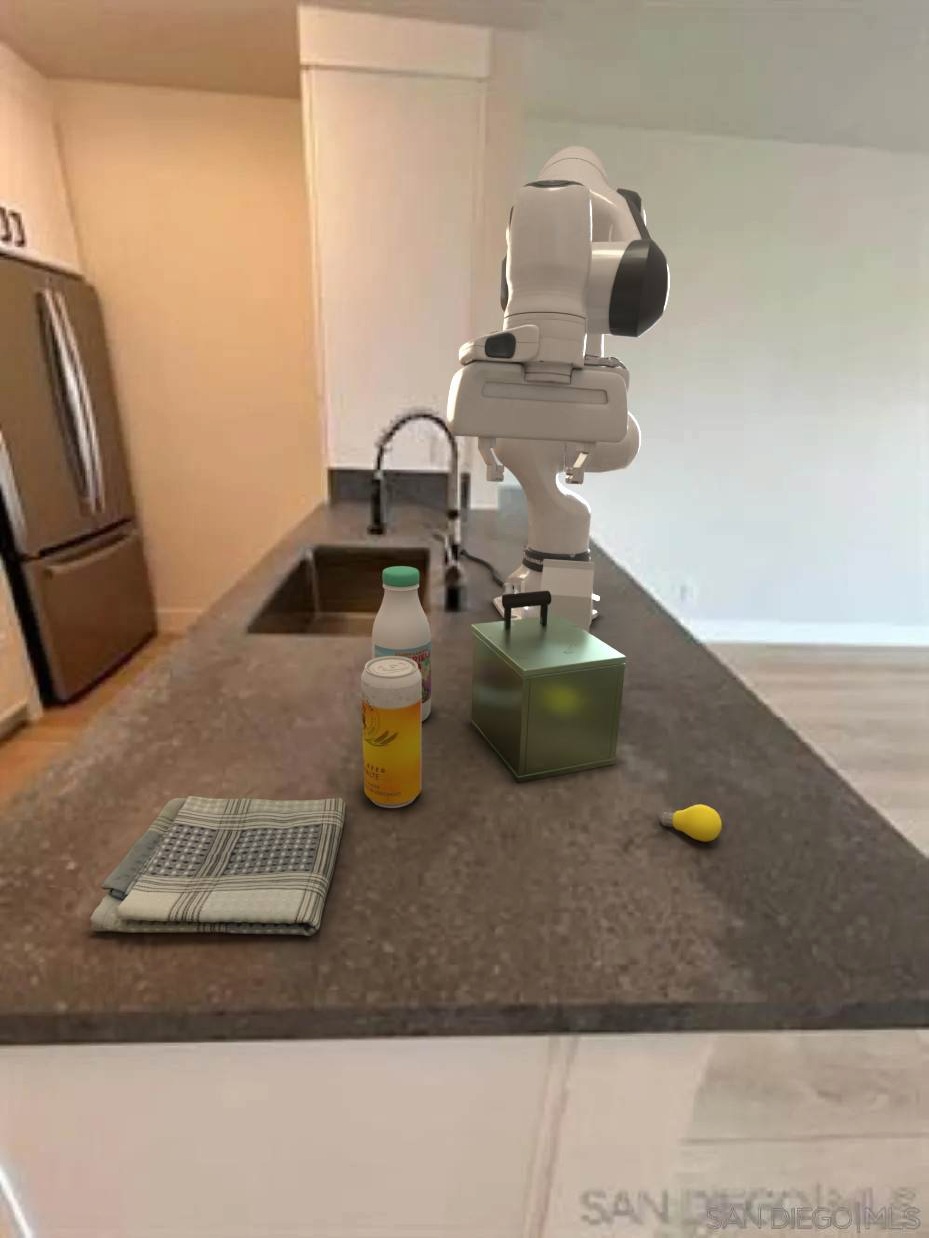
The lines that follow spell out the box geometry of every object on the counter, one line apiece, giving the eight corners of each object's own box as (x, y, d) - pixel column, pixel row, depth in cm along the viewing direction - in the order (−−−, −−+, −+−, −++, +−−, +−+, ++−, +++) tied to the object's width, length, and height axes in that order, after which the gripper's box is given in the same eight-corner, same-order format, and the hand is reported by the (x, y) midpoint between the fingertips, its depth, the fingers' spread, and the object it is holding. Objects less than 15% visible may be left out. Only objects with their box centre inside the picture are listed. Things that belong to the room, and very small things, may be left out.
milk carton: (583, 697, 97) (594, 568, 91) (534, 692, 98) (541, 565, 92) (585, 677, 103) (595, 556, 97) (538, 673, 104) (545, 553, 98)
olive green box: (470, 724, 88) (473, 632, 84) (556, 711, 92) (562, 622, 88) (517, 783, 75) (523, 677, 71) (615, 764, 79) (625, 663, 75)
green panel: (471, 630, 84) (471, 591, 83) (560, 620, 89) (562, 583, 87) (523, 677, 71) (526, 631, 69) (625, 663, 75) (630, 620, 73)
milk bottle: (361, 714, 90) (356, 569, 84) (403, 696, 95) (402, 559, 89) (399, 733, 85) (398, 581, 79) (442, 714, 91) (444, 570, 84)
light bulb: (721, 851, 64) (712, 824, 63) (660, 843, 68) (651, 818, 66) (728, 824, 67) (720, 798, 65) (669, 818, 70) (660, 793, 69)
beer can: (358, 785, 74) (353, 658, 69) (410, 774, 76) (410, 651, 71) (373, 816, 69) (370, 681, 64) (429, 803, 71) (430, 672, 66)
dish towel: (350, 809, 70) (349, 782, 69) (319, 943, 53) (317, 910, 52) (169, 808, 69) (165, 781, 68) (78, 943, 52) (71, 910, 51)
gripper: (617, 362, 78) (606, 484, 81) (444, 347, 72) (440, 478, 75) (645, 354, 72) (632, 486, 75) (459, 338, 66) (454, 481, 69)
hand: (535, 482), depth 75 cm, fingers open, 8 cm apart
